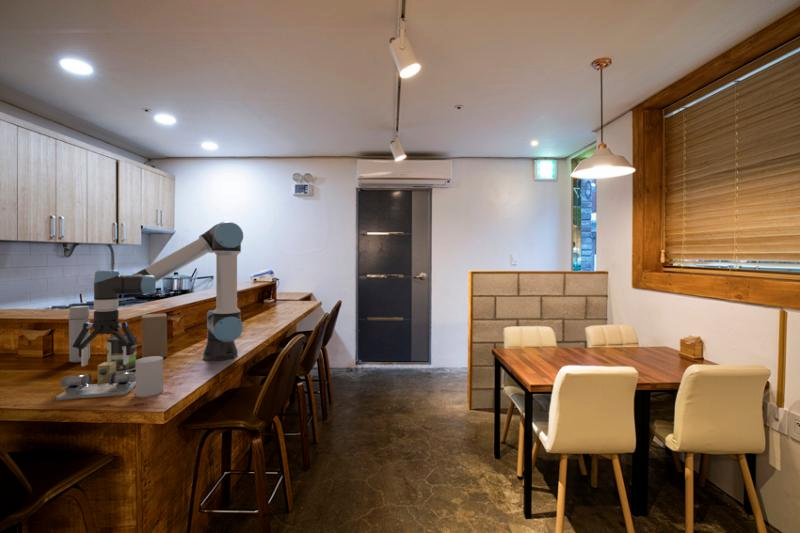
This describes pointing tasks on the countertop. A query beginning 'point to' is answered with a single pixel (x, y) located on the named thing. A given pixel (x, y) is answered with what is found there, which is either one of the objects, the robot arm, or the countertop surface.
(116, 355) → the coffee can
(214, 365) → the countertop surface
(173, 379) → the countertop surface
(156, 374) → the cup
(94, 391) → the shaft bed
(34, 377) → the countertop surface
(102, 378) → the coupler
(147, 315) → the wooden block
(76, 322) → the water bottle
